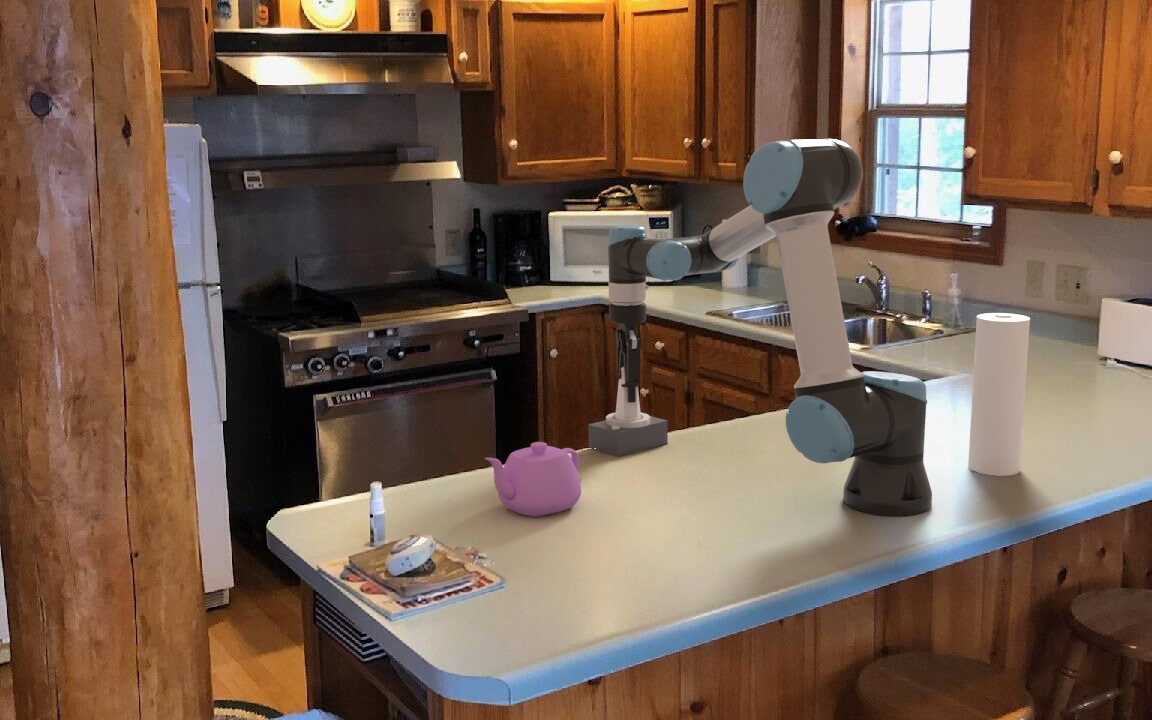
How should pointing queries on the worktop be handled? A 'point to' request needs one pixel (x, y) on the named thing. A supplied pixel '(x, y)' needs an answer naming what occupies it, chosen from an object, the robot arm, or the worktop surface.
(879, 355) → the worktop surface
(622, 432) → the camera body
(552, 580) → the worktop surface
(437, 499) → the worktop surface
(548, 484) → the teapot
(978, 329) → the cylinder container
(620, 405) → the salt shaker
